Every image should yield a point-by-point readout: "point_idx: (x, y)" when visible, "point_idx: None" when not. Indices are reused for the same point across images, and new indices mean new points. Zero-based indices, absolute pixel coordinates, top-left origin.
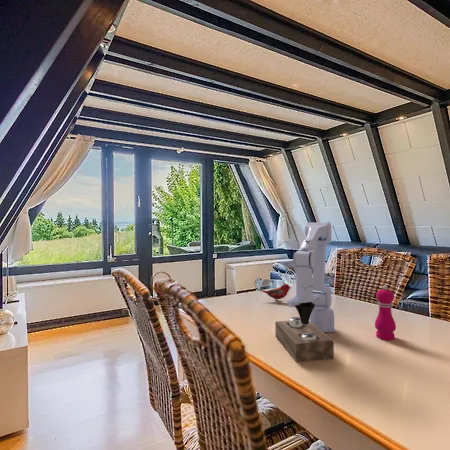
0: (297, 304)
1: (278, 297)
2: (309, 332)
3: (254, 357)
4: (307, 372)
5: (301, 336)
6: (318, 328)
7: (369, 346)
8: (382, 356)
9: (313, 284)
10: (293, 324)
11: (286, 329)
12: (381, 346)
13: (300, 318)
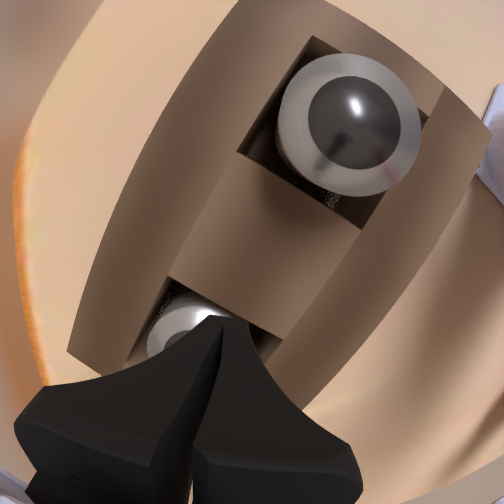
0: (13, 489)
1: None
2: (266, 319)
3: (18, 160)
4: (96, 372)
5: (152, 328)
6: (500, 177)
7: (448, 398)
8: (388, 450)
9: None
10: (281, 143)
11: (177, 148)
12: (462, 412)
13: (189, 334)
